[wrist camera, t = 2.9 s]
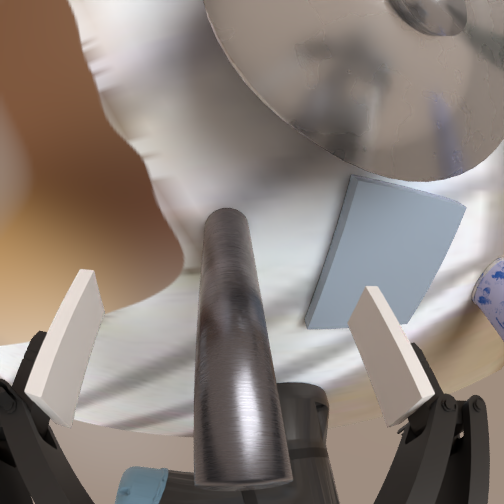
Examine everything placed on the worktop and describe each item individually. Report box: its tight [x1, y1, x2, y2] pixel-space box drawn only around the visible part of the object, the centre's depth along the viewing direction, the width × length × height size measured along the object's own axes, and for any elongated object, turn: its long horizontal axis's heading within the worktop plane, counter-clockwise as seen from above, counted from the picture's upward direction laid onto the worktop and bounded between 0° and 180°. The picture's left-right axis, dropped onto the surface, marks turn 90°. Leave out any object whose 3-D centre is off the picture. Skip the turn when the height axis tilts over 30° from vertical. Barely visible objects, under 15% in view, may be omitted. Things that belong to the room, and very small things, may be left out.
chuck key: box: [194, 208, 293, 491], centre depth 13 cm, size 3×3×16 cm
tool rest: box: [305, 175, 466, 329], centre depth 22 cm, size 14×12×1 cm
